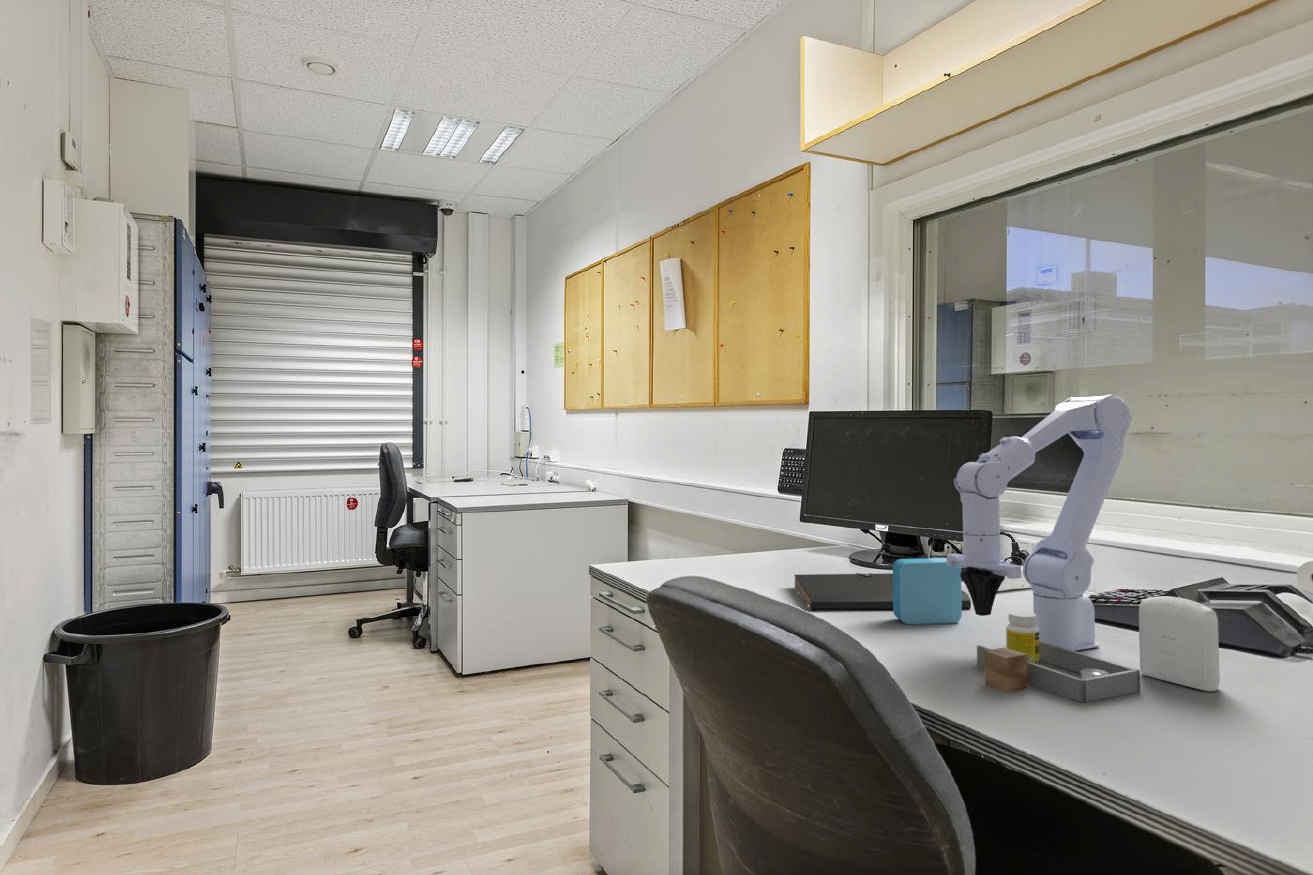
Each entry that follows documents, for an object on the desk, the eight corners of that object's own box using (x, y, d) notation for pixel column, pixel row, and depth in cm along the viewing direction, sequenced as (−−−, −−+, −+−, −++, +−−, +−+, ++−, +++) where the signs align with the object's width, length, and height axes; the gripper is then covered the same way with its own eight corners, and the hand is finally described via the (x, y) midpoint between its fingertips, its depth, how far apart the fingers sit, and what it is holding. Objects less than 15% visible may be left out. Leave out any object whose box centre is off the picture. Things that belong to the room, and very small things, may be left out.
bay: (1029, 655, 128) (1029, 637, 128) (1140, 691, 110) (1139, 670, 110) (977, 664, 124) (976, 645, 124) (1082, 703, 106) (1082, 681, 106)
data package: (952, 617, 154) (951, 557, 154) (962, 623, 150) (961, 561, 149) (893, 619, 154) (892, 559, 154) (900, 624, 149) (899, 562, 149)
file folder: (933, 571, 184) (970, 594, 160) (933, 588, 184) (971, 614, 160) (794, 572, 185) (810, 596, 161) (794, 589, 186) (811, 615, 161)
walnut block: (1005, 680, 116) (1005, 647, 116) (1027, 688, 112) (1026, 654, 112) (984, 684, 114) (984, 650, 114) (1006, 692, 111) (1005, 657, 111)
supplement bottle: (1041, 672, 119) (1041, 618, 119) (1008, 670, 120) (1007, 616, 120) (1037, 663, 123) (1036, 611, 123) (1004, 661, 125) (1004, 609, 125)
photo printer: (1134, 674, 117) (1133, 593, 117) (1152, 670, 119) (1150, 590, 119) (1207, 694, 108) (1206, 606, 108) (1225, 689, 110) (1224, 603, 110)
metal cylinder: (1093, 686, 113) (1092, 667, 113) (1115, 694, 109) (1115, 674, 109) (1075, 690, 111) (1074, 670, 111) (1097, 697, 108) (1097, 677, 108)
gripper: (932, 530, 135) (933, 608, 135) (996, 540, 121) (998, 627, 121) (963, 527, 137) (965, 603, 138) (1030, 537, 124) (1032, 621, 124)
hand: (983, 614), depth 130 cm, fingers closed
